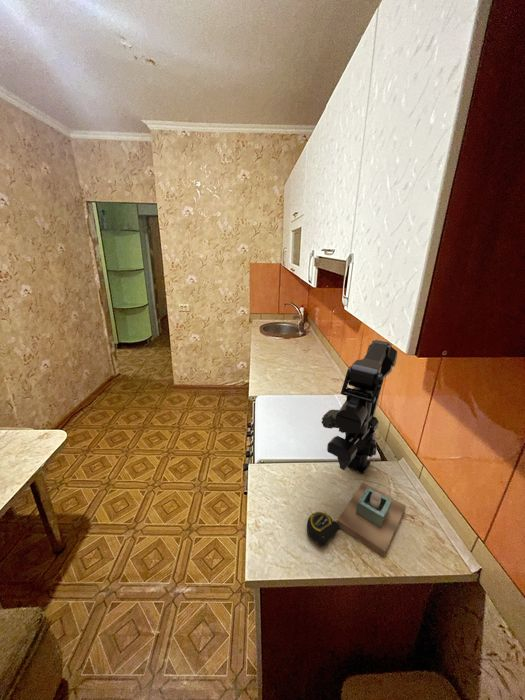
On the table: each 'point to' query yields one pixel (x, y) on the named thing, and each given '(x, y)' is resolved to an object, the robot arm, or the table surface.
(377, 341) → the robot arm
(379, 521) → the collar
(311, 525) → the tape measure
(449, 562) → the table surface
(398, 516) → the post board
